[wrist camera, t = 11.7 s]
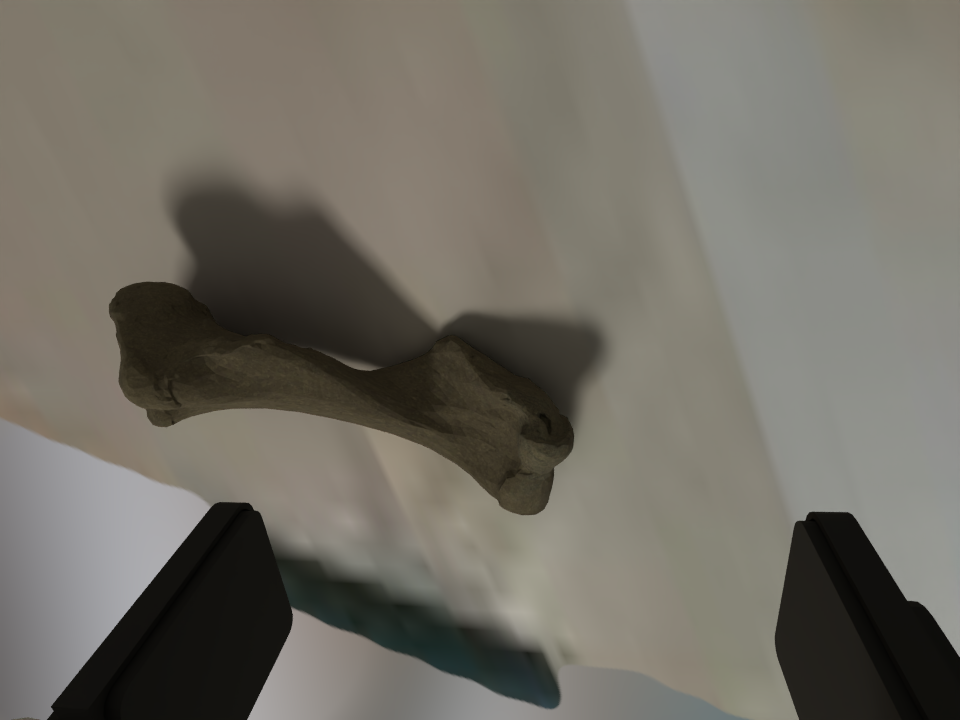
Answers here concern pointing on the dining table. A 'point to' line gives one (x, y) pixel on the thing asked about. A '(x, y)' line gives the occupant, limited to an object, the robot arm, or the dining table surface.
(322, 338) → the dining table surface
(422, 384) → the bone
